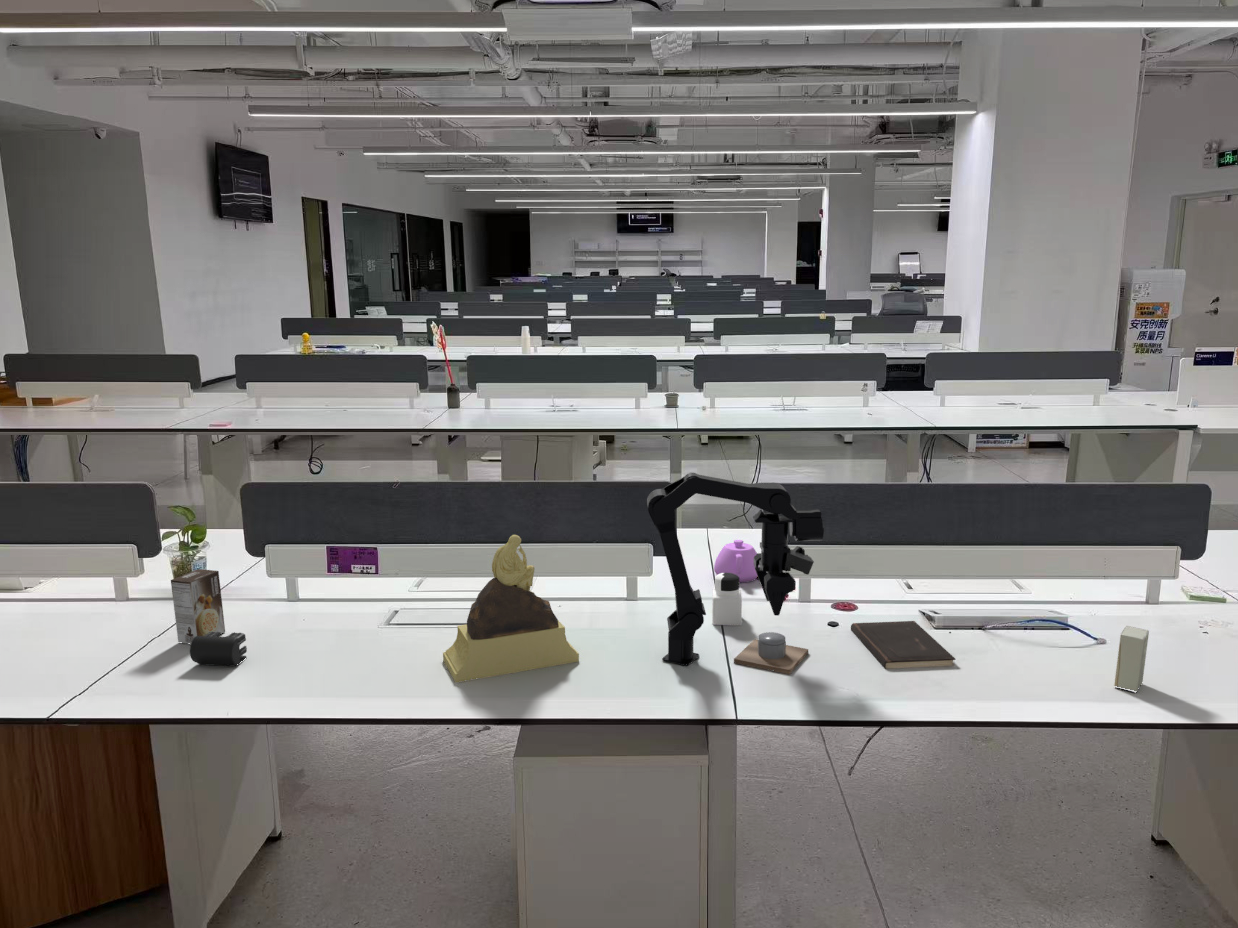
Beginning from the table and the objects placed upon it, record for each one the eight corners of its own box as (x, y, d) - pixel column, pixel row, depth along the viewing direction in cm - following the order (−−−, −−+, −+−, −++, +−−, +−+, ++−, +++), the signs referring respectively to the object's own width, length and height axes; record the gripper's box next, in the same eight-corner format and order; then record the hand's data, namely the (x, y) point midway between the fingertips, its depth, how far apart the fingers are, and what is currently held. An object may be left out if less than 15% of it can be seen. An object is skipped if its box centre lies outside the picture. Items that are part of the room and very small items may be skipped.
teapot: (760, 565, 277) (761, 530, 275) (763, 587, 258) (764, 550, 255) (714, 564, 279) (714, 529, 276) (713, 585, 259) (714, 549, 257)
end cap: (191, 669, 207) (187, 640, 205) (208, 656, 214) (205, 629, 212) (233, 671, 206) (230, 642, 204) (249, 658, 212) (246, 630, 211)
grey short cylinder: (787, 659, 207) (787, 642, 206) (760, 659, 207) (760, 642, 206) (782, 648, 213) (782, 631, 212) (756, 648, 212) (756, 632, 212)
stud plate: (789, 674, 201) (790, 659, 200) (733, 662, 207) (734, 648, 207) (808, 653, 212) (808, 638, 211) (754, 642, 218) (755, 628, 218)
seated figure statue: (560, 641, 221) (557, 520, 215) (578, 661, 209) (576, 533, 203) (443, 660, 210) (437, 533, 204) (455, 683, 199) (449, 548, 193)
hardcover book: (913, 629, 227) (914, 620, 227) (954, 668, 205) (955, 658, 204) (850, 632, 226) (850, 623, 226) (884, 671, 204) (885, 661, 203)
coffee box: (205, 629, 230) (198, 567, 227) (226, 632, 228) (219, 570, 225) (177, 643, 221) (169, 579, 218) (198, 646, 219) (191, 582, 216)
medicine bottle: (740, 615, 236) (741, 570, 234) (741, 625, 229) (742, 579, 227) (712, 614, 237) (712, 570, 234) (712, 625, 230) (712, 579, 227)
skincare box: (1120, 678, 198) (1126, 624, 195) (1143, 684, 195) (1149, 629, 192) (1113, 688, 193) (1119, 633, 190) (1137, 694, 190) (1143, 638, 188)
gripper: (820, 552, 195) (818, 622, 198) (802, 528, 213) (800, 593, 217) (767, 553, 195) (766, 623, 198) (753, 529, 213) (752, 594, 216)
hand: (772, 607), depth 207 cm, fingers open, 9 cm apart
